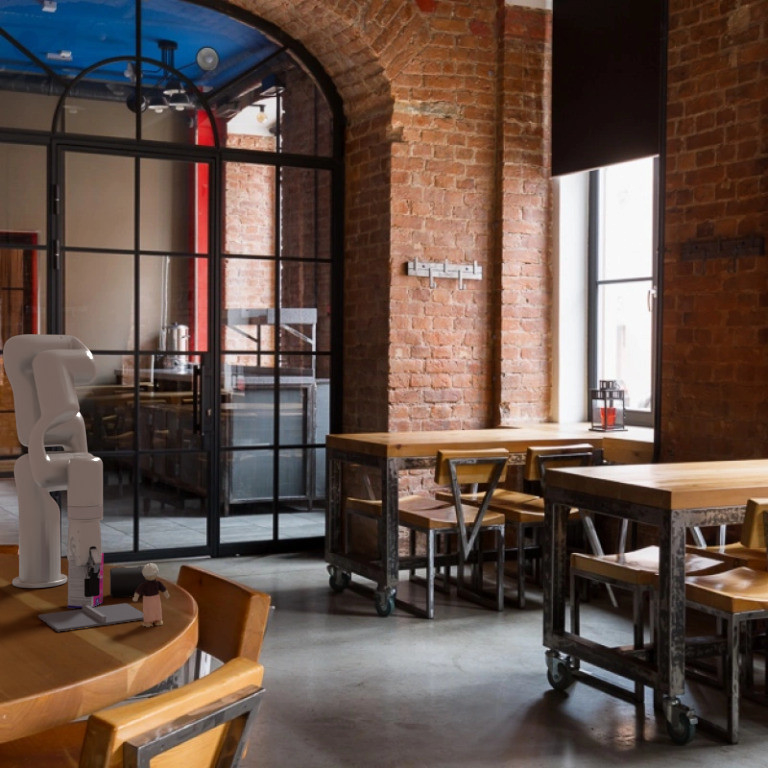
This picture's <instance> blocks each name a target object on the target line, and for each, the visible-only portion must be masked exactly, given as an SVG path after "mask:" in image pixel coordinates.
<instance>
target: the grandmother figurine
mask: <svg viewBox="0 0 768 768" xmlns="http://www.w3.org/2000/svg"><path fill="white" fill-rule="evenodd" d="M143 566H144V567H143V570H142V573H143V576H144V577H145V579H146V580H148V581H147V582H144V583H142V584H140V585H139V586H138V588H137V589H136V591H135V594H134V597H132V599H131V600H132V601H133V602H138V599H139V597H141V596H140V595H142V594H144V595H143V596H142V612H143V619H144V620H143V622H141V626H142V625H143V626H142V627H144V626H146V627H145V628H151V627H150V626H152V627H153V626H154V625H155V626H163V625H164V622H163V620H162V619H163V616H162V614H163V612H162V611H163V610H162V602H161V597H160V596H161V595H160V592H161V593H162V595H163V596H164V598H165V600H166V599H169V598H170V594H169V591H168V590H167V587H166V585H164V583H163V582H161V580H157V577H158V575H159V574H160V573H159V572H160V570H159V568H158V565H157V563H147V564H145V565H143ZM155 578H156V580H155ZM153 623H154V624H153Z"/></svg>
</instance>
